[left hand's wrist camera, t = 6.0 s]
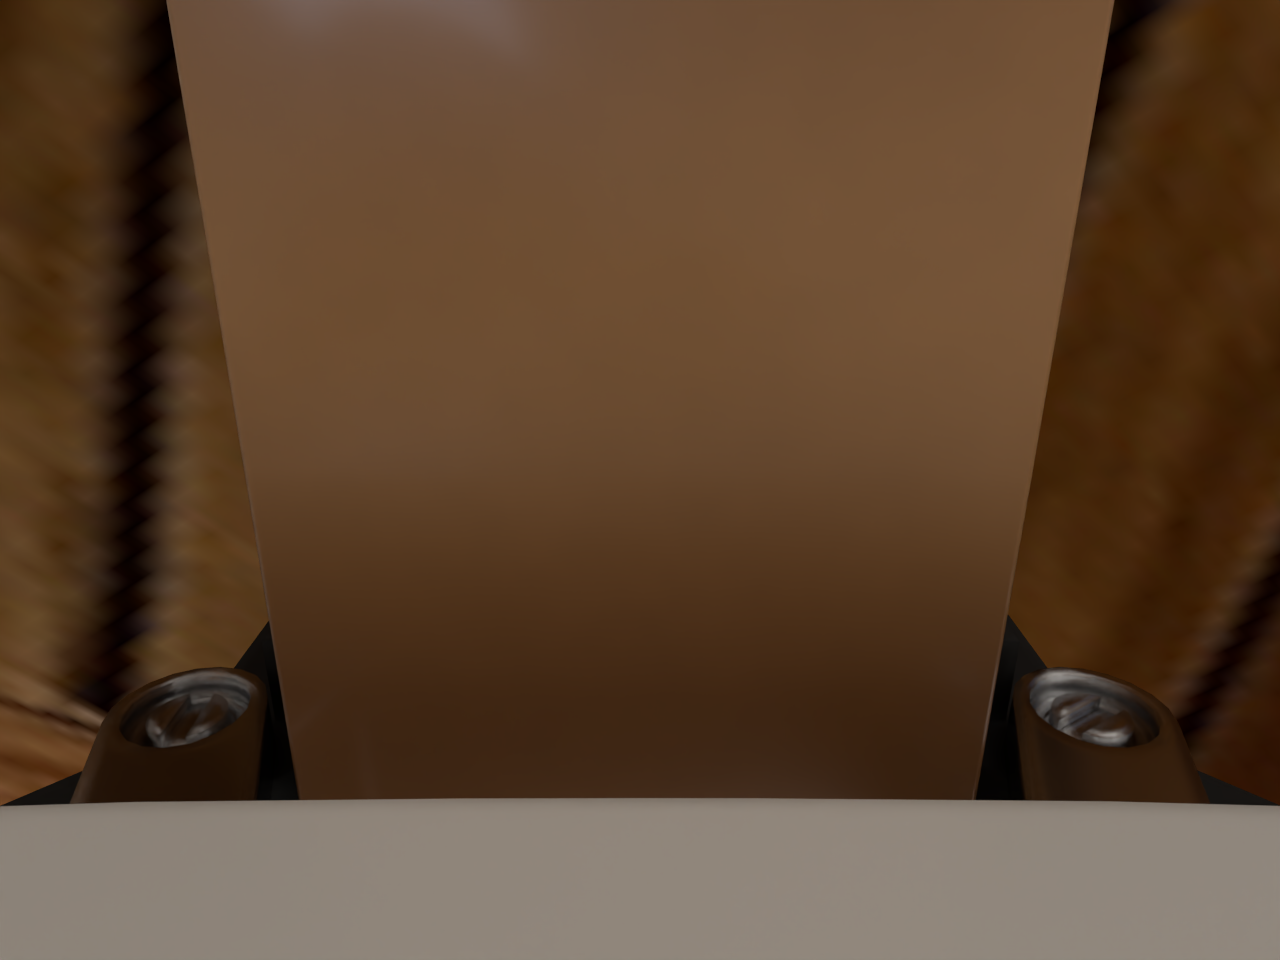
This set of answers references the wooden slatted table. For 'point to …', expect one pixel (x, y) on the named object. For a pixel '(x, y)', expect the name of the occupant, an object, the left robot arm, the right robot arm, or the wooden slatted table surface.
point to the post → (638, 377)
